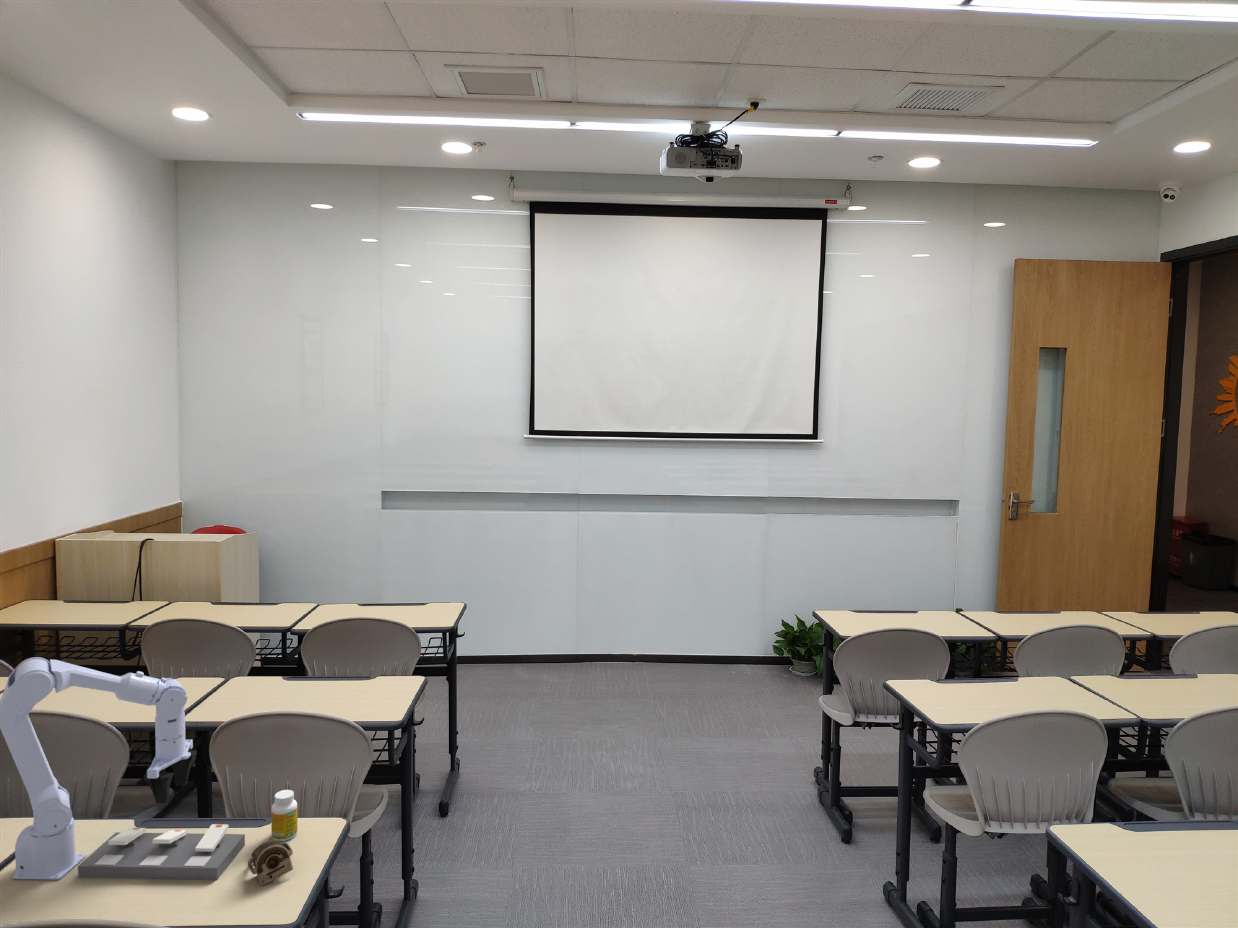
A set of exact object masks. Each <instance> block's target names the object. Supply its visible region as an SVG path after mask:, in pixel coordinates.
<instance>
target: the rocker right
mask: <svg viewBox="0 0 1238 928" xmlns="http://www.w3.org/2000/svg"><path fill="white" fill-rule="evenodd" d="M229 826H230V825H229V824H225V823H224V824H222V823H220V824H219V823H215V824H213V823H212V824H211V825H210V826H209V828H208V829H207V830H206V832H205V833H204V834H205V835H204V836H203V838H202V839H201V840H200V842H199V843H198V845H197V846H196V848H195V851H202V852H213V851H214V849H215V848H216V846H217V845H218V843H219V842H220V840H221V839H222V837H223V836H224V834H227V831H228V829H229V828H230V827H229Z"/></svg>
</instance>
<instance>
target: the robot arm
mask: <svg viewBox="0 0 1238 928" xmlns="http://www.w3.org/2000/svg"><path fill="white" fill-rule="evenodd" d="M71 687H77V688H84V689H91V690H97V691H103V692H111V693H113V694H115V696H116V698H117V700H119V701H124V702H128V703H135V704H140V705H143V706H149V707H150V706H155V717H154V723H155V725H154V726H155V727H154V728H155V732H154V733H155V736H154V737H155V756H154V758H153V760H152V762H151V764H150V766H149V767H148V768H147V770H146V773H145V774H144V775H143V780H144V782H145V783H146V784H147V785H148V786H149V788H150V789H151V792H152V795H153V798H154V800H155V803H156V804H167V803H168V801H169V795H170V786H171V782H172V779H174V785H175V786H182V787H183V786H184V787H185V786H186V785H187V783H188V779H189V775H190V770H191V767H192V764H193V763H194V760H195V759H196V756H197V752H198V751H197V750H192V749H193V747H194V742H193V741H194V740H193V739H186V714H185V713H186V712H185V705H186V703H187V701H188V696H187V693H186V691H185V689H184V687H183V686H182V684H181V682H180V681H179V680H177V679H174V678H172V677H160V678H156V677H153V676H147V675H145V674H144V672H143V671H139V670H138V671H136V673H133V672H127V673H125V674H122V675H121V676H119V675H116V674H112V673H107V672H103V671H99V670H96V669H92V668H89V667H84V666H80V665H77V664H73V663H69V662H66V661H63V660H58V659H49V660H48V659H46V658H44V657H37V656H36V657H34V656H33V657H30V658H26V659H24V660H23V661H21V662H20V663H19V664H18V665H17V666H16V667H15V668H14V669H13V671H12V672H11V673H10V674H9V676H8V678H7V680H6V684H5V687H4V690H3V693H2V696H1V698H0V731H1V734H2V736H3V738H4V740H5V742H6V746H7V747H8V750H9V752H10V754H11V757H12V760H13V762H14V763H15V767H16V768H17V771H18V773H19V775H20V778H21V780H22V782H23V784H24V787H25V789H26V792H27V794H28V797H29V801H30V805H31V808H32V812H33V822H32V823H33V824H31V825H28V826H26V827H25V828H24V829H22V831H20V833H19V835H18V836H17V838H16V842H15V846H14V854H15V859H14V860H15V874H14V875H13V876H12V878H13V880H54V881H55V880H61V879H62V878H63V877H64V876H65V875H67V874H68V873H69V872H70V871H71V870H72V869H73V868H74V867H75V866H77V865H78V864H79V863H80V862H82V860H83V859H86V854H84V853H83V854H81V853H76V847H75V845H76V841H75V818H74V817H73V811H72V809H71V803H70V798H71V797H70V793H69V791H68V790H67V789H66V788H64V787H63V786H61V785H60V784H59V782H58V779H57V778H56V777H55V776H54V773H53V771H52V768H51V767H50V764H49V761H48V759H47V757H46V755H45V752H44V749H43V748H42V744H41V742H40V740H39V739H38V738H39V737H38V736H37V733H36V730H35V728H34V726H33V724H32V720H31V718H30V716H29V714H30V713H31V711H32V710H33V709H34V707H35V706H36V705H38V703H40V702H42V701H43V700H44V699H45V698H47V697H48V696H49V695H50V694H51V692H52V691H53V690H54V689H55V694H57V693H60V692H63V691H65V690H66V689H67V690H68V689H69V688H71ZM170 766H172V767H171V768H172V771H173V772H167V771H166V770H165V769H166V768H168V767H170Z"/></svg>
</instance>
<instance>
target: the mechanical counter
mask: <svg viewBox="0 0 1238 928" xmlns="http://www.w3.org/2000/svg"><path fill="white" fill-rule="evenodd" d="M293 852H294V851H293V849H292V847H291V846H290V845H289V843H286V842H284V843H283V842H282V841H275V840H269V841H265V842H263V843H261V844H259V845H258V846H257V847H256V848H255V849H254V850H253V851H252V853H251V855H250V856H251V858H250V859H249V860H248V862H247V866H248V869H249V871H250V872H251V874H252V875H257V878H258V880H259V883H260V886H261V887H263V886H265V885H266V884H269V883H270V882H272V881H274V880H276V879H278V878H280V877H282V876H284V875H286V874H287V873H289V872H291V871H293V870H294V867H293V863H292V860H291V856H292V855H294V853H293Z"/></svg>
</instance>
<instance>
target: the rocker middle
mask: <svg viewBox="0 0 1238 928" xmlns="http://www.w3.org/2000/svg"><path fill="white" fill-rule="evenodd" d="M163 833H164V834H162V835H160V836H158V837H156V838H154V839H153V840H152V843H160V844H170V843H172V842H173V841H177V840H178V839H179V838H181V837H183V836H185V835H187V833H188V830H185V829H182V830H181V829H171V830H168V831H166V832H163Z"/></svg>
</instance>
